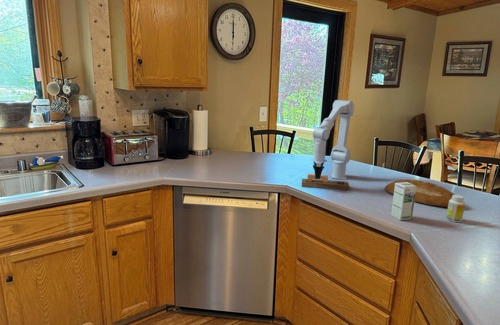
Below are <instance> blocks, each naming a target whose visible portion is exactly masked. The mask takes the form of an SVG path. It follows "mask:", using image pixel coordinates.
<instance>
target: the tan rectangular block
mask: <svg viewBox="0 0 500 325" xmlns="http://www.w3.org/2000/svg"><path fill="white" fill-rule="evenodd" d="M306 179H307V182H312V179H316V178H315V173H307V178H306ZM316 180H317V179H316ZM318 180H323V183H328V180H329V175H328V174H327V175H326V174H321V177H320V179H318Z"/></svg>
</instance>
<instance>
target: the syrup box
mask: <svg viewBox="0 0 500 325" xmlns="http://www.w3.org/2000/svg"><path fill="white" fill-rule="evenodd" d="M415 193H416V186H415V185H414V184H411V183H408V182H404V183H395V189H394V194H393V198H392V204H391V205H392V206H391V215H390V216H392V217H394V218H395V219H397V220H398V221H407V220H412V219H413V213H414V206H415V202H414V200H415Z"/></svg>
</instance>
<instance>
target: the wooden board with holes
mask: <svg viewBox="0 0 500 325" xmlns="http://www.w3.org/2000/svg"><path fill="white" fill-rule="evenodd" d="M307 179H308V178H302V179H301V187H302V188H313V189H325V190H326V189H327V190H340V191H350V184H349V181H344V180H329V179H328V183H323V180H319V179H312V182H307Z"/></svg>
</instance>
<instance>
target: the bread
mask: <svg viewBox="0 0 500 325" xmlns="http://www.w3.org/2000/svg"><path fill="white" fill-rule="evenodd" d="M404 182H408V183H411V184H414V185H415V186H416V193H415V200H414V203H418V204H423V205H428V206H429V205H430V206H436V207H442V208H448V204H449V200H450V199H452V195H456V194H455V193H453V191H450V190H448V189H446V188H445V187H442V186H440V185H437V184H434V183H432V182H430V181H423V180H419V179H397V180H394V181H392V182H390V183H388V184H386V185H385V187H384V190H385V191H386V192H388V193H389V194H391V195H394V189H395V183H404Z"/></svg>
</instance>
